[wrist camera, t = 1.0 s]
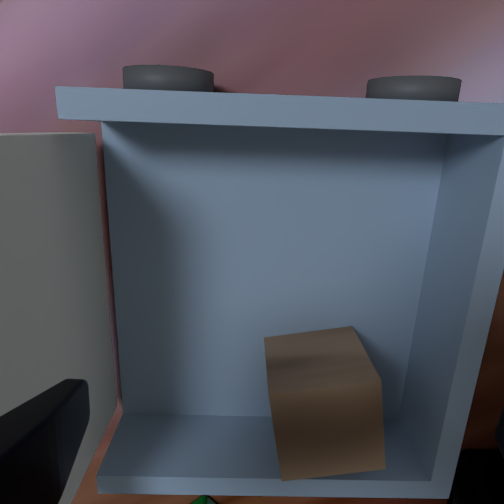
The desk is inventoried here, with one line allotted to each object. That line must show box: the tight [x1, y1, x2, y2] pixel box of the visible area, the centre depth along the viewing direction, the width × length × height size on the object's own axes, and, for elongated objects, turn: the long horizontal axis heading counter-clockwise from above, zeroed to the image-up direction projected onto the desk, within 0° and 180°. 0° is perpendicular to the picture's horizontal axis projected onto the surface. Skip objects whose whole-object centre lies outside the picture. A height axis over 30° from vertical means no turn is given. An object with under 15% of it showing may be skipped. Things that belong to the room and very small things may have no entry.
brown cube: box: [264, 326, 386, 482], centre depth 18 cm, size 4×4×4 cm
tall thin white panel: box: [0, 132, 117, 504], centre depth 15 cm, size 14×1×9 cm, turn 178°
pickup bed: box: [55, 65, 504, 499], centre depth 18 cm, size 19×16×6 cm
